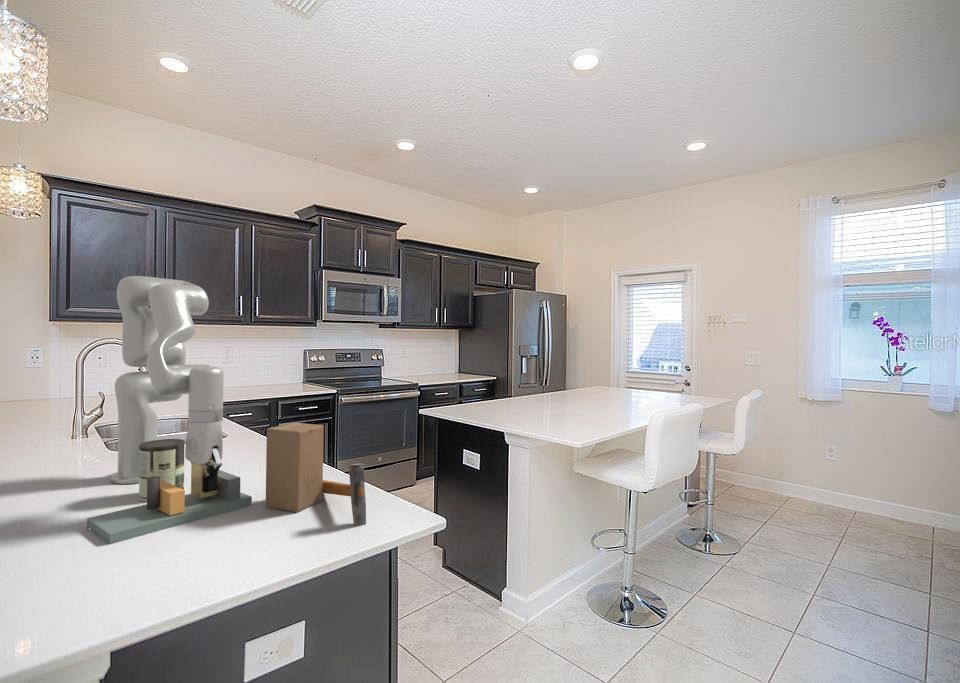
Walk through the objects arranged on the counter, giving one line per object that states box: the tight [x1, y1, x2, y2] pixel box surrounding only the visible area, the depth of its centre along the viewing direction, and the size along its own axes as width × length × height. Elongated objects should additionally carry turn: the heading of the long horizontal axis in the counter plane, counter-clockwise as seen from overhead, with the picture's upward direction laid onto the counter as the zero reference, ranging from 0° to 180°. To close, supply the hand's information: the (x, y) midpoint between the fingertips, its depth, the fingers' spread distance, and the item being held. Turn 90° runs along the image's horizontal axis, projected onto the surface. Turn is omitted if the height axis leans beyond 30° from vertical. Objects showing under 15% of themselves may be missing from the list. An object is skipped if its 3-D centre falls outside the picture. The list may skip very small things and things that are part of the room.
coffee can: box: [138, 438, 186, 502], centre depth 128 cm, size 10×10×14 cm
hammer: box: [322, 463, 367, 527], centre depth 123 cm, size 14×2×30 cm
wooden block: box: [265, 422, 325, 513], centre depth 124 cm, size 10×10×20 cm
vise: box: [86, 469, 253, 545], centre depth 115 cm, size 14×30×7 cm, turn 145°
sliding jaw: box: [146, 476, 186, 515], centre depth 112 cm, size 12×5×8 cm, turn 55°
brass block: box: [190, 460, 218, 498], centre depth 120 cm, size 5×4×8 cm
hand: (204, 488), depth 120 cm, fingers closed on brass block, 4 cm apart
